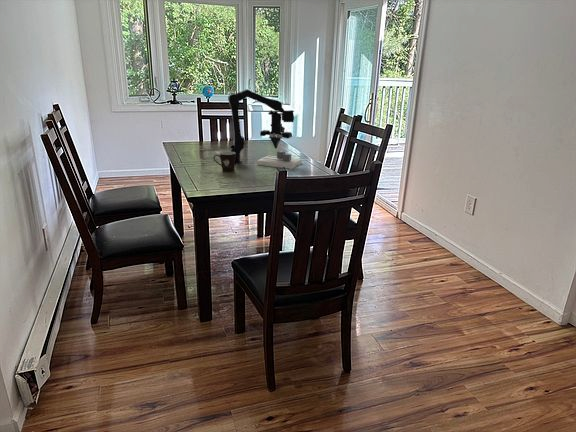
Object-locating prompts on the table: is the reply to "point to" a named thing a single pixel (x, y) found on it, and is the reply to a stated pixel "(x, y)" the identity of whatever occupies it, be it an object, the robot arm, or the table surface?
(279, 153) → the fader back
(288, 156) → the fader front
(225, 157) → the coffee mug
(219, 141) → the table surface
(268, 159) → the console
